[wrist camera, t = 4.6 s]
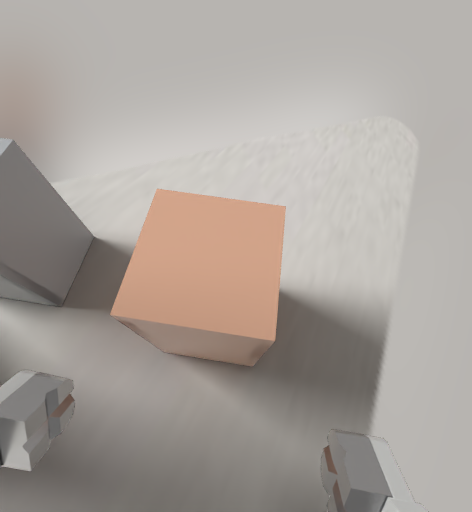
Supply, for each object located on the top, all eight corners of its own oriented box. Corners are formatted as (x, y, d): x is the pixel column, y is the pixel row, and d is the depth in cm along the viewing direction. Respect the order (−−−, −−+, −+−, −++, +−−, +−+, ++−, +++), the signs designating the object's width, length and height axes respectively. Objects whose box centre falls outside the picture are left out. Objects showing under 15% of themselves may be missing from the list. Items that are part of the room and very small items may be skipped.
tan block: (252, 366, 19) (275, 341, 10) (164, 352, 19) (109, 314, 10) (261, 283, 22) (285, 206, 13) (185, 271, 22) (157, 188, 13)
